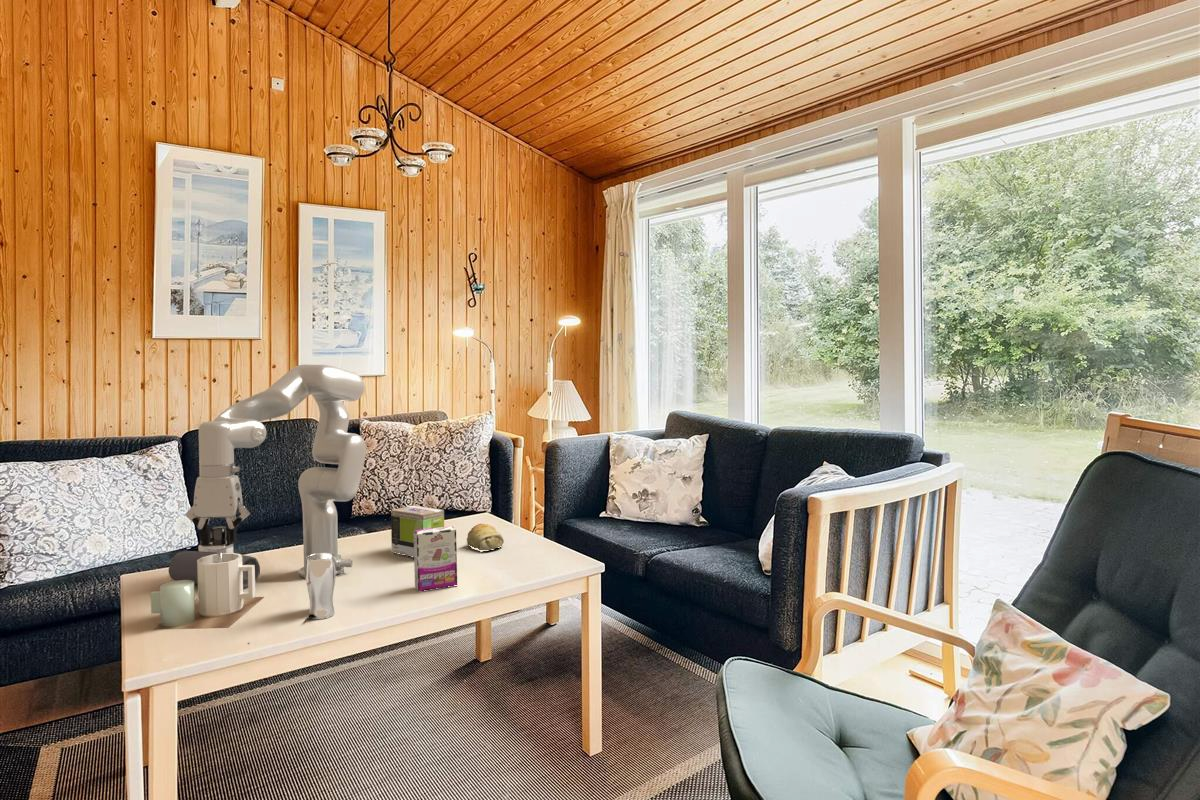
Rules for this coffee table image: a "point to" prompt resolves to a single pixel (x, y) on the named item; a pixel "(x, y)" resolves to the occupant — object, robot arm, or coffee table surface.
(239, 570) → the press carafe
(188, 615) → the sage mug
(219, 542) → the plunger
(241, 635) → the coffee table surface
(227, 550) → the jar
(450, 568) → the candy bar box
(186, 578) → the bluetooth speaker
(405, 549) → the tea box
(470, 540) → the pastry
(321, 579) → the beer glass
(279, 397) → the robot arm
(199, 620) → the serving board
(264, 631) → the coffee table surface
